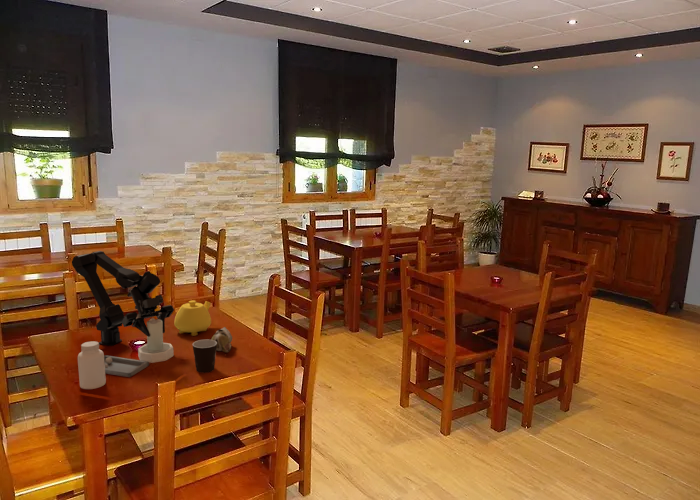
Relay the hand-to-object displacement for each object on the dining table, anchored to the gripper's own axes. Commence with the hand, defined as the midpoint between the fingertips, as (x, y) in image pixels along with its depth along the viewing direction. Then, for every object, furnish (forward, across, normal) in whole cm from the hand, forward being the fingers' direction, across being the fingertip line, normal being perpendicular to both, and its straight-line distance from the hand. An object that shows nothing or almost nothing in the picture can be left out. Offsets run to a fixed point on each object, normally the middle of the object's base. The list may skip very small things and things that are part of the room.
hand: (156, 334), depth 204 cm
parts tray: (+7, -15, +7) cm, 18 cm away
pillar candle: (+3, 0, +5) cm, 6 cm away
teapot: (-7, +29, +21) cm, 36 cm away
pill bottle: (+12, -27, +2) cm, 30 cm away
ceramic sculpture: (+13, +23, +2) cm, 26 cm away
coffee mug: (+21, +9, -7) cm, 24 cm away
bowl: (+6, 0, +8) cm, 10 cm away
